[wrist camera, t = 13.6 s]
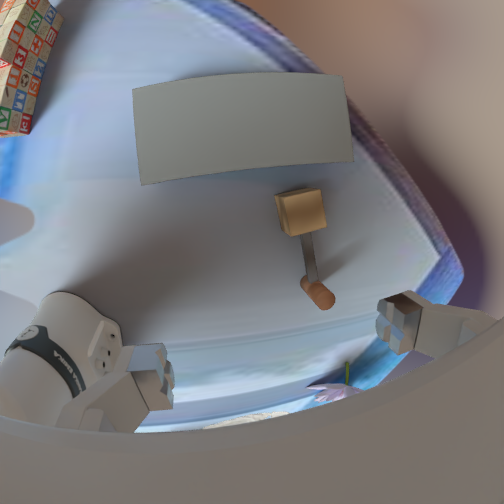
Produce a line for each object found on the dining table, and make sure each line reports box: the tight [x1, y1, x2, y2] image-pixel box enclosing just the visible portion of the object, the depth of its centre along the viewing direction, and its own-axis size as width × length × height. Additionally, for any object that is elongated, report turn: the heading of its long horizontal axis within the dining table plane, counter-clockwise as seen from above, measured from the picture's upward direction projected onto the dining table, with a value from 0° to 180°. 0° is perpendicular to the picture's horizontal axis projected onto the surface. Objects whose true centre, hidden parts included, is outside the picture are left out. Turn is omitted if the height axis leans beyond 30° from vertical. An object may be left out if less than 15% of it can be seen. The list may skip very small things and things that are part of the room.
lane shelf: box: [132, 72, 354, 186], centre depth 31 cm, size 11×25×7 cm, turn 97°
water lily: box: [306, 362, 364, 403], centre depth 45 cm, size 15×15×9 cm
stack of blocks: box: [0, 0, 64, 138], centre depth 19 cm, size 21×6×12 cm, turn 172°
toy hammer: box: [274, 188, 335, 310], centre depth 37 cm, size 15×5×7 cm, turn 13°
